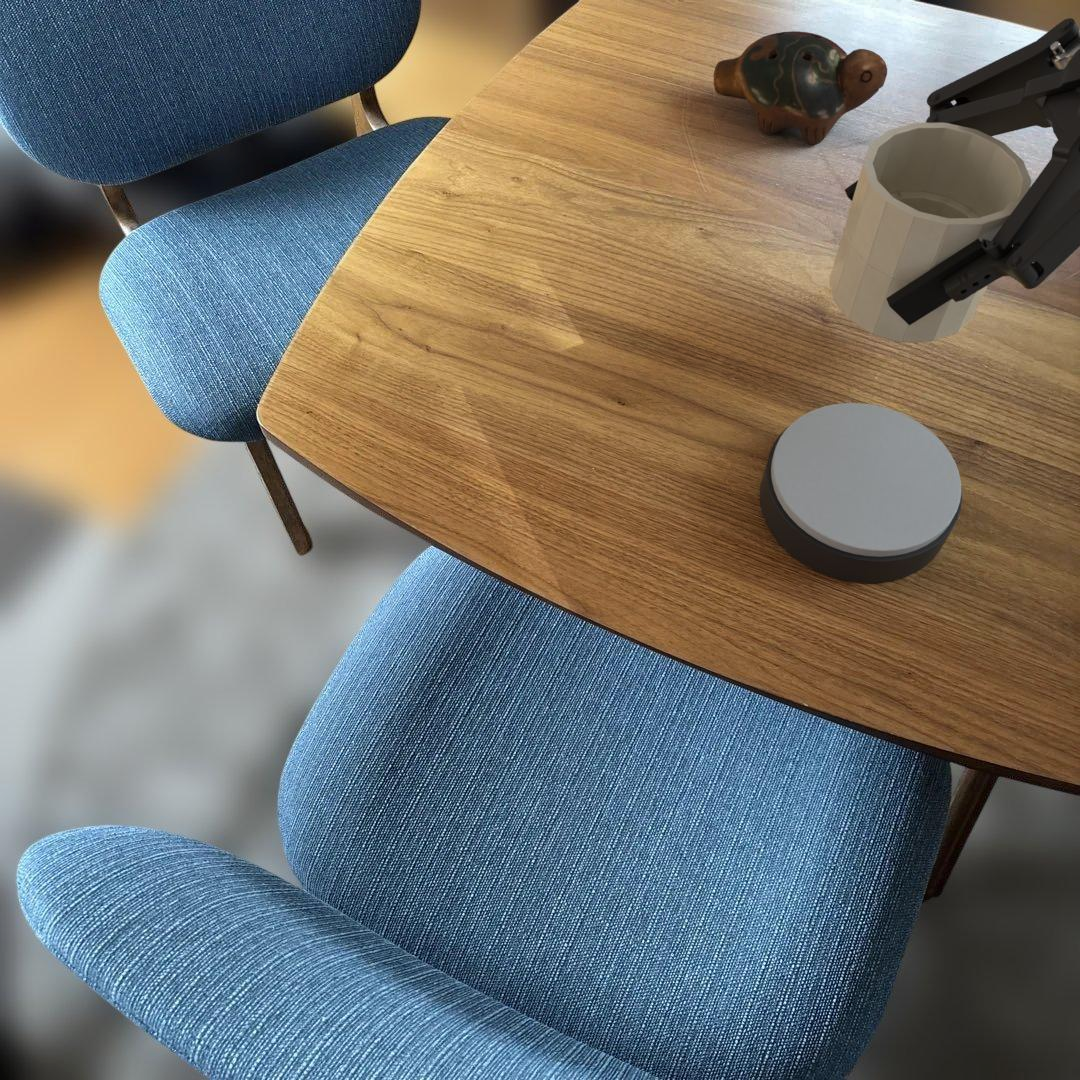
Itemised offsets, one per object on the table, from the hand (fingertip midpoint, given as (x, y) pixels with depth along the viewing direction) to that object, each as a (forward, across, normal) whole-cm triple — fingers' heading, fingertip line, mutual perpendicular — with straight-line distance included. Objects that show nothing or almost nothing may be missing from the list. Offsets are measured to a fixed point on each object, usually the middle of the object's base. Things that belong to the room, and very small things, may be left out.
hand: (875, 255), depth 72 cm
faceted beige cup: (+1, 0, -5) cm, 5 cm away
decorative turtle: (+5, +29, -8) cm, 31 cm away
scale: (+9, -14, -5) cm, 17 cm away
